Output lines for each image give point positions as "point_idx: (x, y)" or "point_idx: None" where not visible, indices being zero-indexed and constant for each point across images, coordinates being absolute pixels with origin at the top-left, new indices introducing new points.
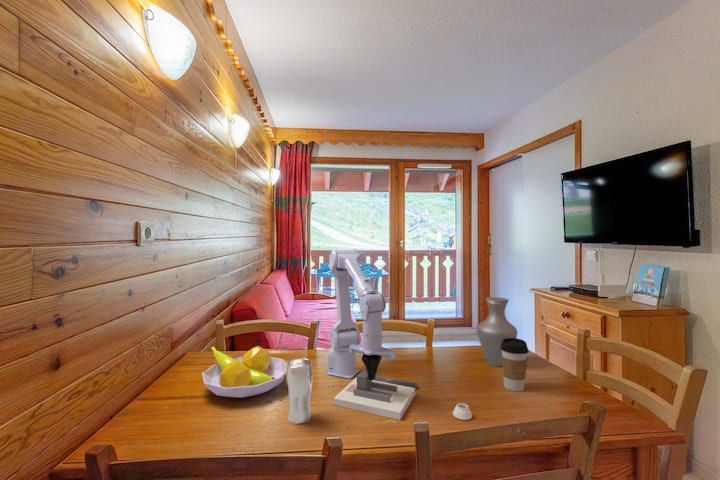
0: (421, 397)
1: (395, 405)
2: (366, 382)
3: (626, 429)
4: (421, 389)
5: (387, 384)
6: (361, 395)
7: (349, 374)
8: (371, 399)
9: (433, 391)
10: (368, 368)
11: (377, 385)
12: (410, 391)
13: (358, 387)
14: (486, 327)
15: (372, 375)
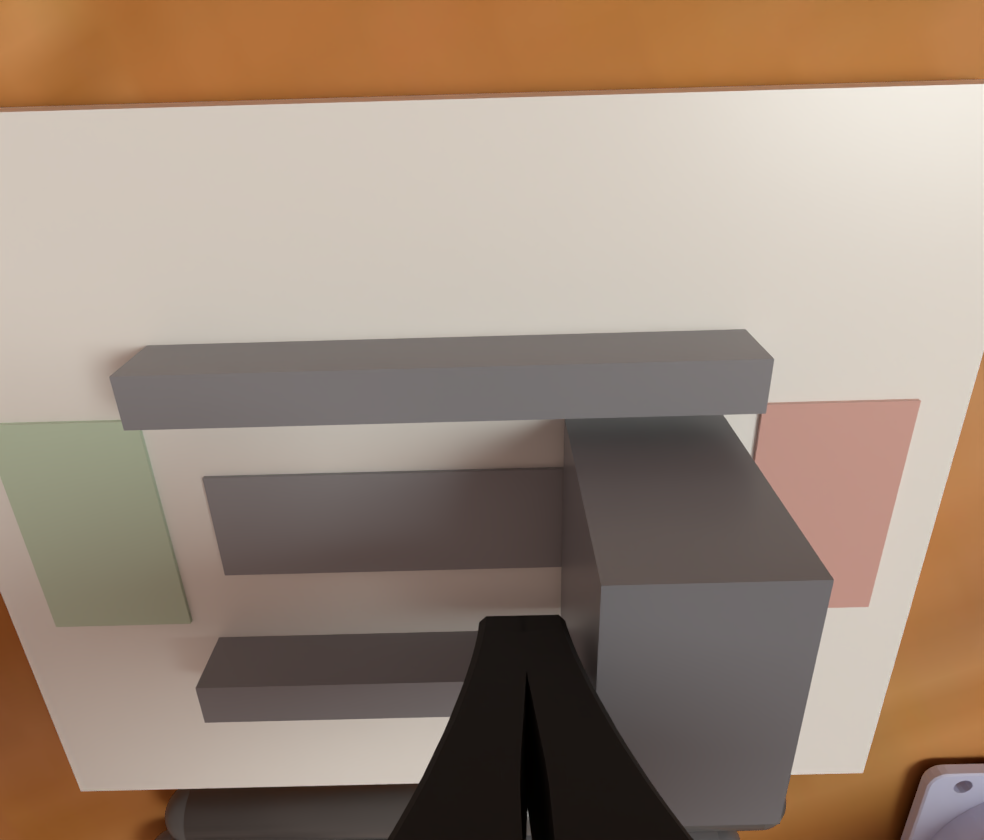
0: (29, 703)
1: (11, 305)
2: (585, 540)
3: None
4: (124, 828)
5: (348, 711)
6: (607, 338)
7: (968, 821)
8: (426, 323)
9: (2, 834)
10: (583, 801)
11: None
12: (81, 712)
13: (714, 455)
14: None
15: (476, 680)
